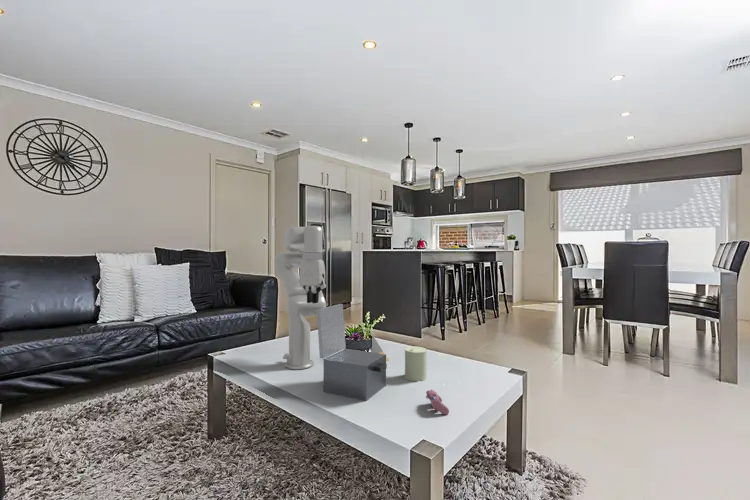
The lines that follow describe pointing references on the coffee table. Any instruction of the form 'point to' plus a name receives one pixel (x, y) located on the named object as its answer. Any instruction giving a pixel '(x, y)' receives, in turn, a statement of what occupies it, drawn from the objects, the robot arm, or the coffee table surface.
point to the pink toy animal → (436, 402)
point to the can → (415, 363)
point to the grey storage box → (355, 373)
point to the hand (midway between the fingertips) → (312, 302)
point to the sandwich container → (376, 347)
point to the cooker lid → (331, 330)
